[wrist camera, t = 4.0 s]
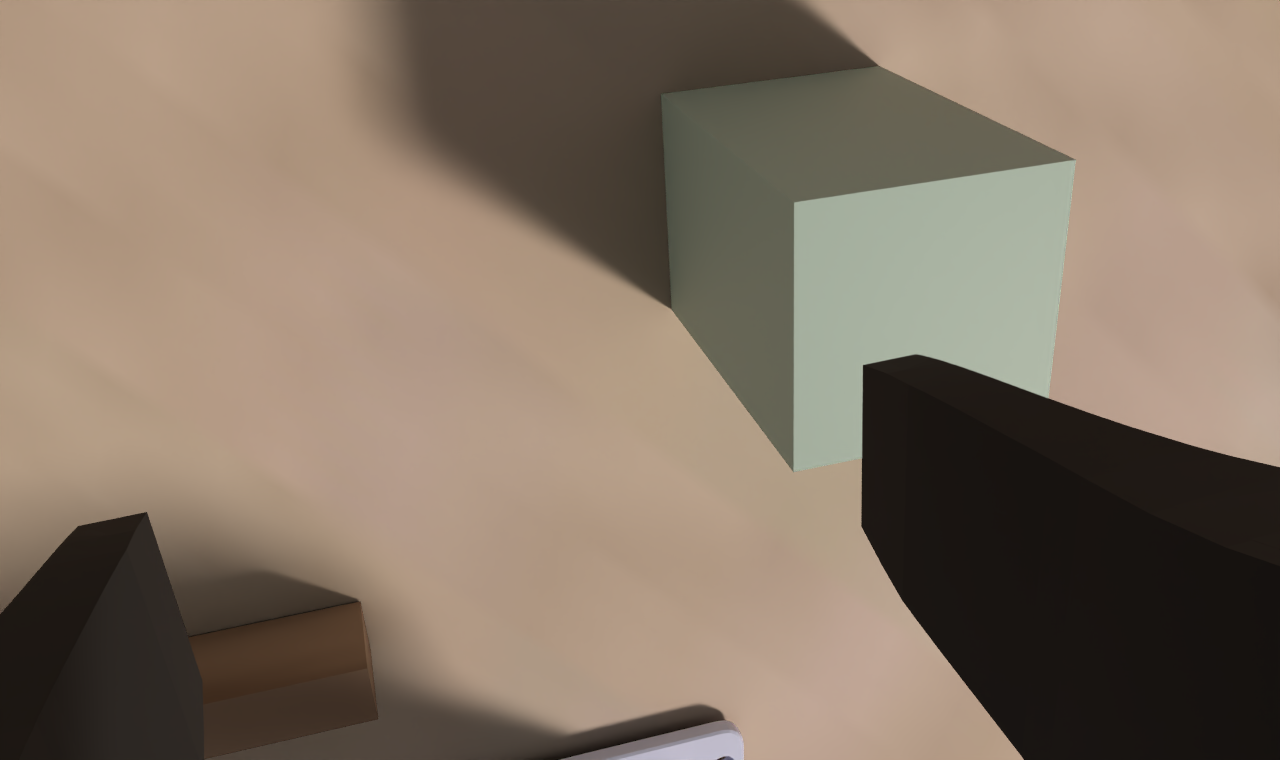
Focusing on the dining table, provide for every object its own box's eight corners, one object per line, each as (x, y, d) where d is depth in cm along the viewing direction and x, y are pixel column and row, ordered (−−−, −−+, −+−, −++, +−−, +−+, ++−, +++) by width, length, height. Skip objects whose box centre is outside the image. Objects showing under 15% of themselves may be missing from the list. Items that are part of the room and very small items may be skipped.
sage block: (871, 275, 23) (1045, 421, 18) (671, 309, 22) (792, 471, 17) (878, 65, 21) (1075, 159, 16) (660, 93, 20) (794, 202, 15)
